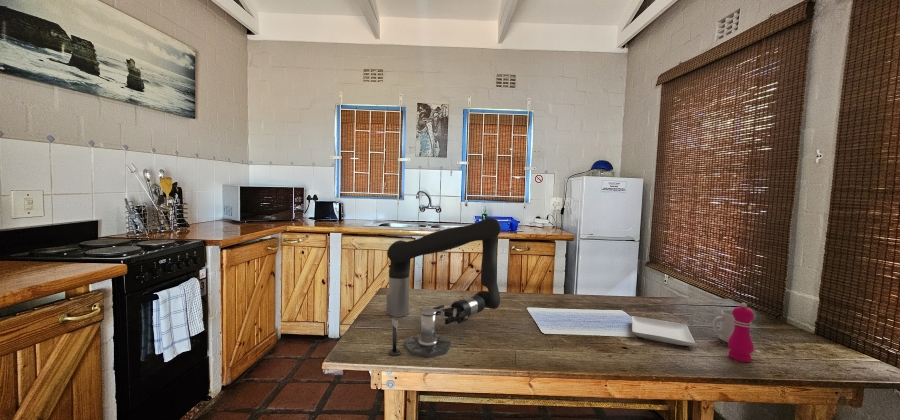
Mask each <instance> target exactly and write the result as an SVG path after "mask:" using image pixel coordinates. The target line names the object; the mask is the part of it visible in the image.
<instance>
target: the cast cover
mask: <svg viewBox="0 0 900 420" xmlns="http://www.w3.org/2000/svg"><path fill="white" fill-rule="evenodd" d="M432 308H433V307H426V308H422V309H420V313H419V314H420V334H421V338H419V340H418V343H419V345H421V346H425V347H431V346H434V345H436V344H437V339H436V338H435V334H436V317H435V315H436V310H435V309H432Z"/></svg>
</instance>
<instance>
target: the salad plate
mask: <svg viewBox="0 0 900 420" xmlns="http://www.w3.org/2000/svg"><path fill="white" fill-rule="evenodd" d="M630 318H631V319H630V320H631V331H632V334H633V335H635V336H637V337H639V338H641V337H642V339H645V340H650V341H655V342H660V343H667V344H671V345H676V346H677V345H678V346H687V347H688V346H692V345H695V343H696V341H695V340H694V337H693V335H692V334H691V331H690V329H689V327H688V325H687V324H684V323H679V322H672V321H666V320H663V319H662V320H660V319H654V318H648V317H641V316H635V315H633V316H632V315H631V317H630Z"/></svg>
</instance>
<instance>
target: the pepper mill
mask: <svg viewBox="0 0 900 420" xmlns="http://www.w3.org/2000/svg"><path fill="white" fill-rule="evenodd" d="M732 311H733V312H732V315H733V317H734V318H735V319H734V322H733V323H734V324H735V328H734V332H733V334H732V335H731V336H730V338H729V340H728V342H727V346H728V348H729V350H728V356H729V357H730V358H732V359H733V360H735V361H739V362H743V363H750V362H751V361H752V355H751V354H752V353H754V348H755V347H754V343H753V341H752V338H751V335H750V328H751V327H752V322H753V320H754V318H755V314H754V312H753V310H751V308H749V307H748V304H747V303H745V302H741V303H740V306H736V307H733V309H732Z"/></svg>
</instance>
